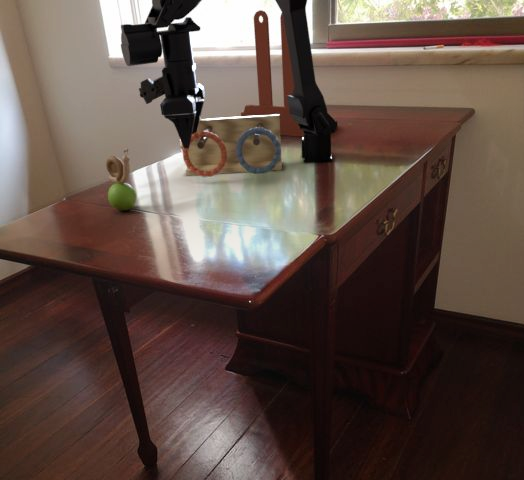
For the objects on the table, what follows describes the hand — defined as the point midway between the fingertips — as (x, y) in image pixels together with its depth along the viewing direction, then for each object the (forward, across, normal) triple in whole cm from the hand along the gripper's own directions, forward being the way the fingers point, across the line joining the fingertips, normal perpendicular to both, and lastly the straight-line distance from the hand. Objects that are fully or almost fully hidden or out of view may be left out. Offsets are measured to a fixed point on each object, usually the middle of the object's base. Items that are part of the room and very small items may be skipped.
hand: (190, 142), depth 117 cm
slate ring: (+3, 0, +14) cm, 15 cm away
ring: (+9, -21, -4) cm, 23 cm away
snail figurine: (+9, +15, -12) cm, 21 cm away
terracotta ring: (+3, 0, +3) cm, 4 cm away
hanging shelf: (+9, -48, +21) cm, 53 cm away
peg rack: (+9, -4, +8) cm, 13 cm away
